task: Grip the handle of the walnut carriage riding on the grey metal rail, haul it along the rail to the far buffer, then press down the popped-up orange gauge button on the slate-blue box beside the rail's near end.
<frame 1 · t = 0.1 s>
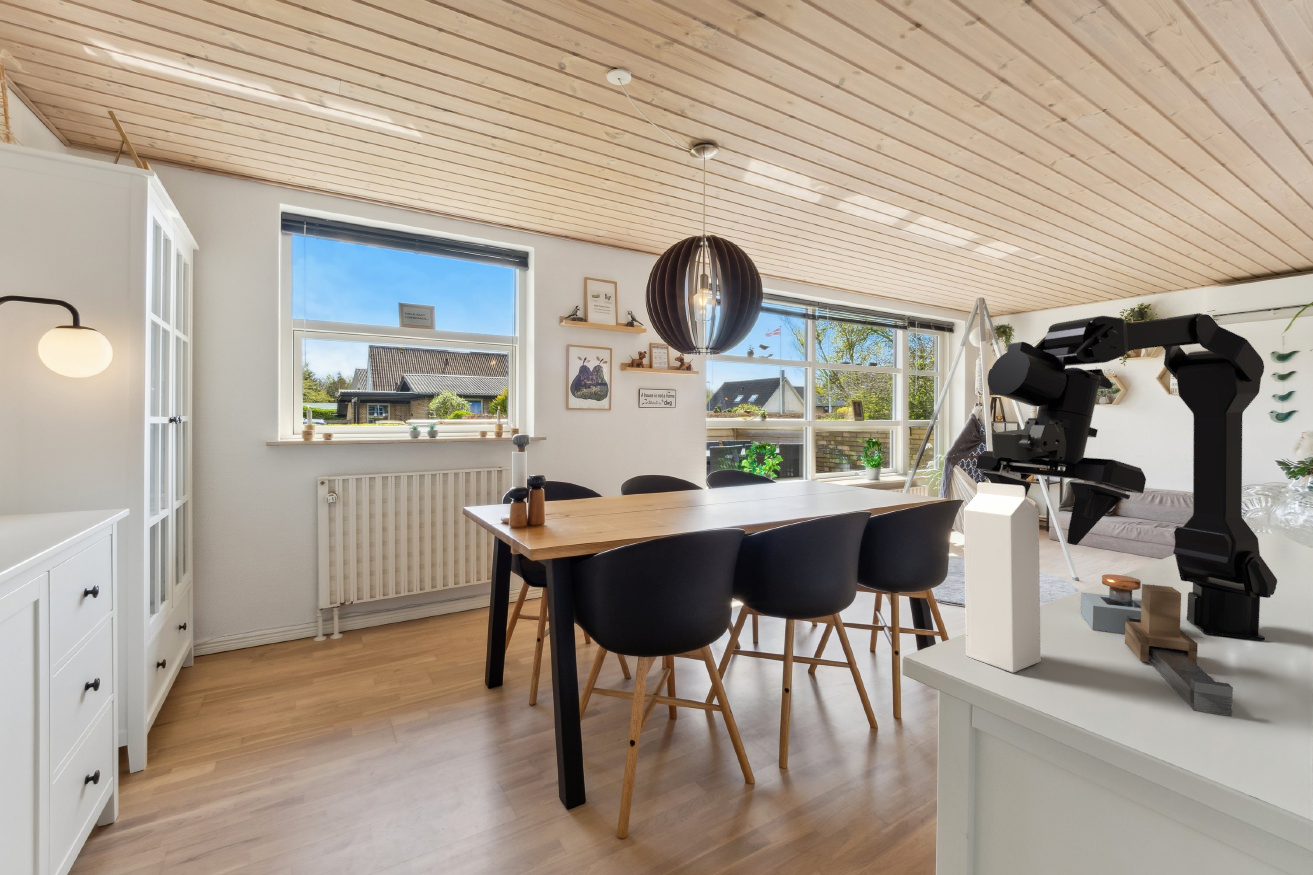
hand: (1037, 536, 73), 15 cm above the worktop, tool pointing down, fingers open, 9 cm apart
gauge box: (1119, 626, 85), on the worktop
carriage: (1160, 621, 74), point 5 cm above the worktop, slide at 0.0 cm
milk: (1002, 660, 73), on the worktop
rail: (1171, 670, 70), on the worktop
gauge button: (1120, 593, 85), point 5 cm above the worktop, slide at 0.0 cm
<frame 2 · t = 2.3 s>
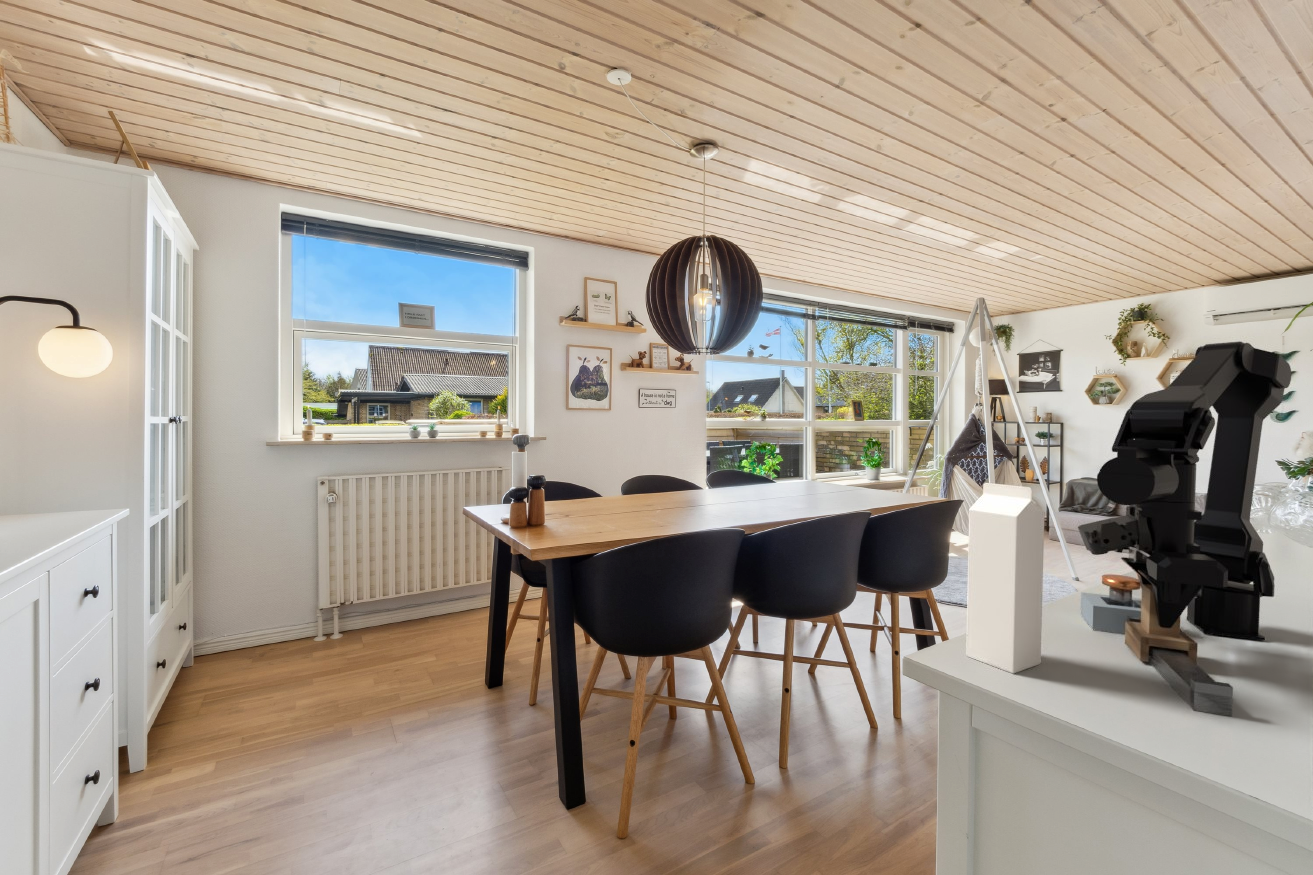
hand: (1159, 622, 74), 5 cm above the worktop, tool pointing down, fingers closed on carriage, 3 cm apart
carriage: (1160, 621, 74), point 5 cm above the worktop, slide at 0.0 cm, touching gripper
everything else where it was.
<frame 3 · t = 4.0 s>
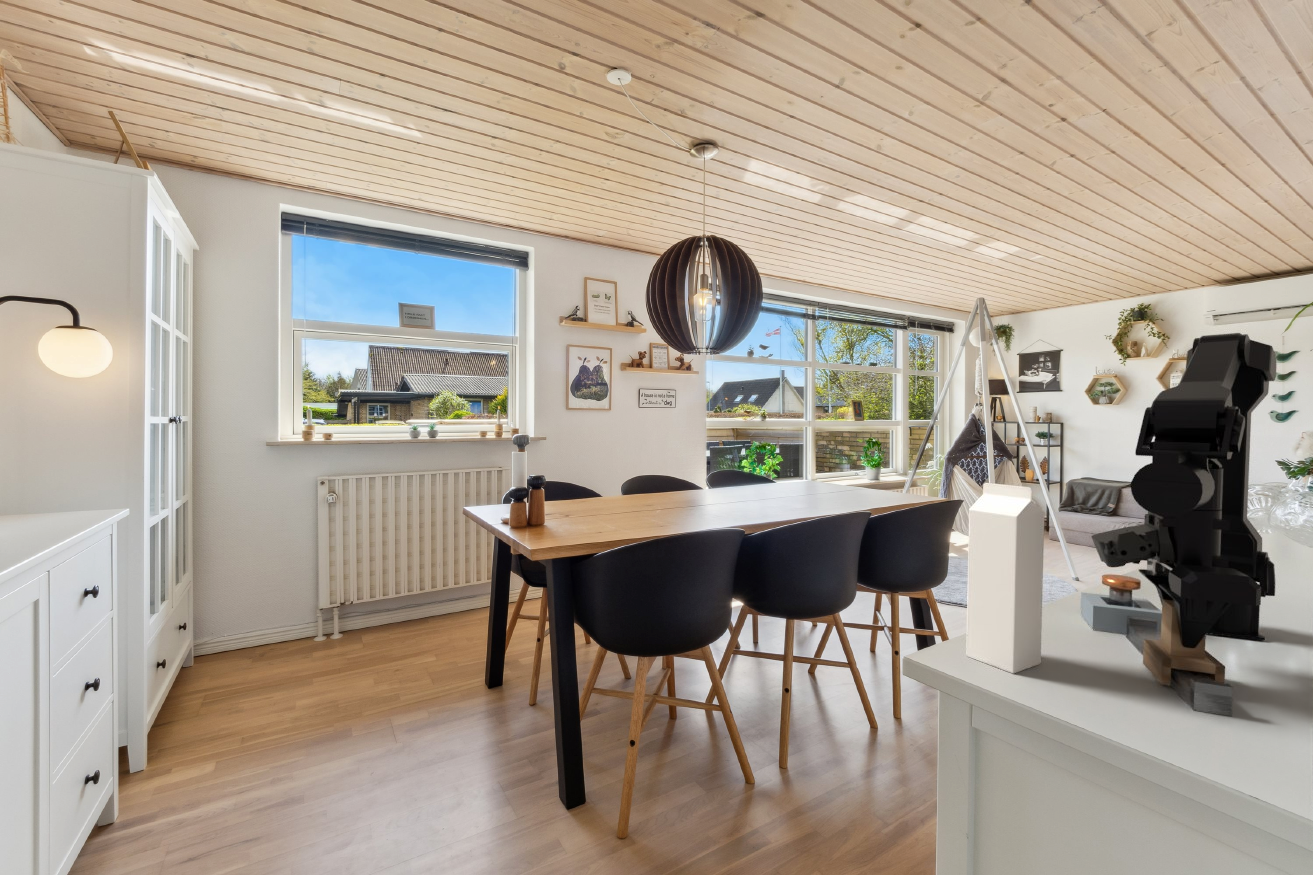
hand: (1182, 641, 67), 5 cm above the worktop, tool pointing down, fingers closed on carriage, 3 cm apart
carriage: (1182, 641, 67), point 5 cm above the worktop, slide at 7.0 cm, touching gripper
everything else where it was.
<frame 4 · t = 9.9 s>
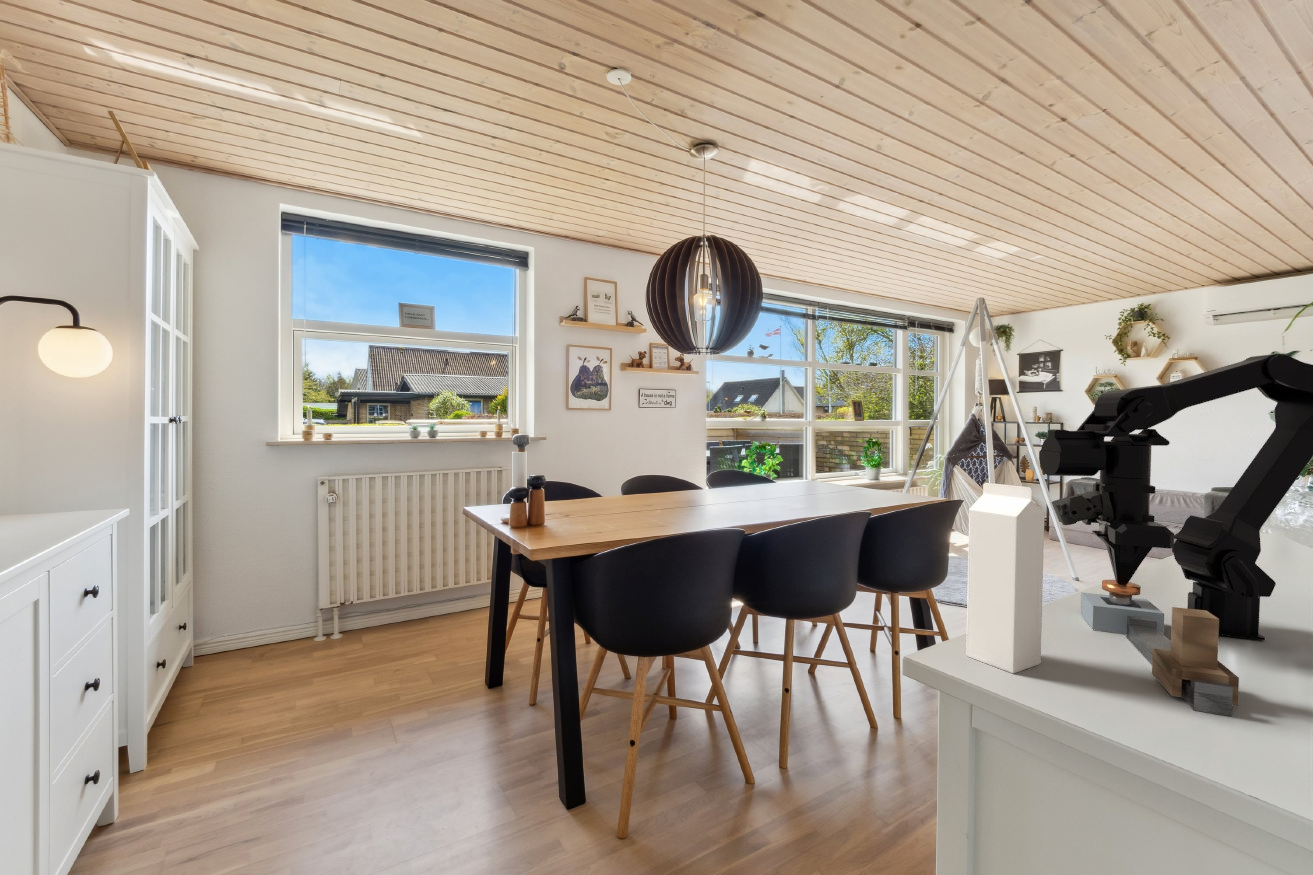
hand: (1121, 583, 85), 6 cm above the worktop, tool pointing down, fingers closed, pressing on gauge button
carriage: (1193, 650, 64), point 5 cm above the worktop, slide at 10.0 cm
gauge button: (1120, 599, 85), point 4 cm above the worktop, slide at 0.8 cm, touching gripper
everything else where it was.
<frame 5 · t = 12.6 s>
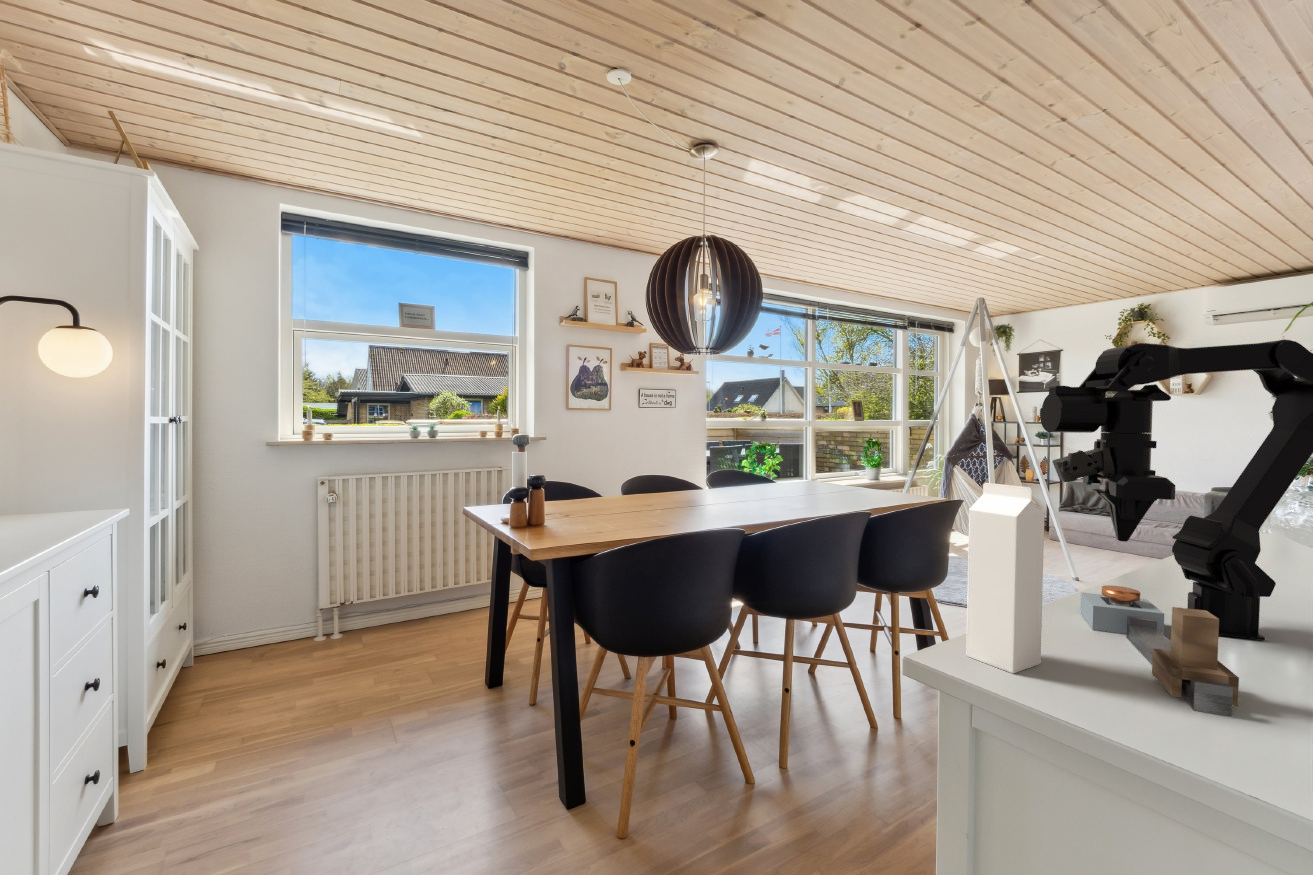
hand: (1122, 540, 85), 12 cm above the worktop, tool pointing down, fingers closed
gauge button: (1120, 605, 85), point 3 cm above the worktop, slide at 1.7 cm
everything else where it was.
at the end: carriage slide at 10.0 cm; gauge button slide at 1.7 cm; the gripper is holding nothing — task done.
